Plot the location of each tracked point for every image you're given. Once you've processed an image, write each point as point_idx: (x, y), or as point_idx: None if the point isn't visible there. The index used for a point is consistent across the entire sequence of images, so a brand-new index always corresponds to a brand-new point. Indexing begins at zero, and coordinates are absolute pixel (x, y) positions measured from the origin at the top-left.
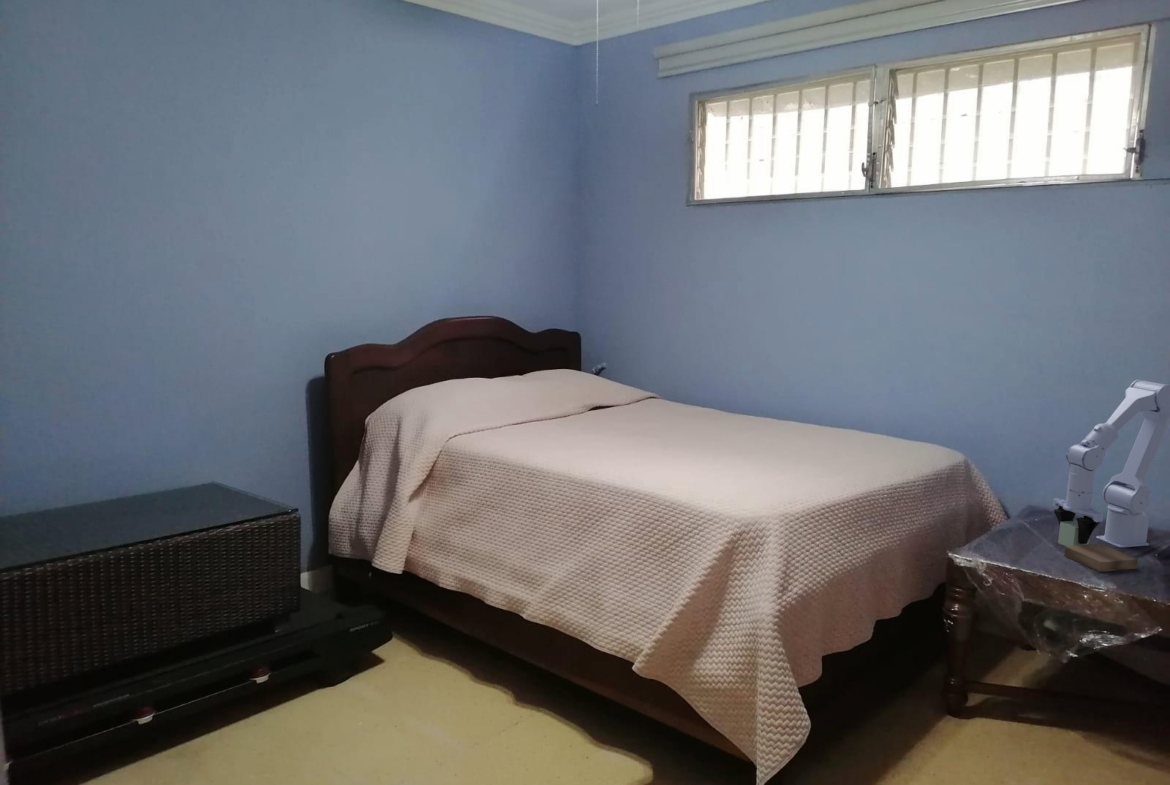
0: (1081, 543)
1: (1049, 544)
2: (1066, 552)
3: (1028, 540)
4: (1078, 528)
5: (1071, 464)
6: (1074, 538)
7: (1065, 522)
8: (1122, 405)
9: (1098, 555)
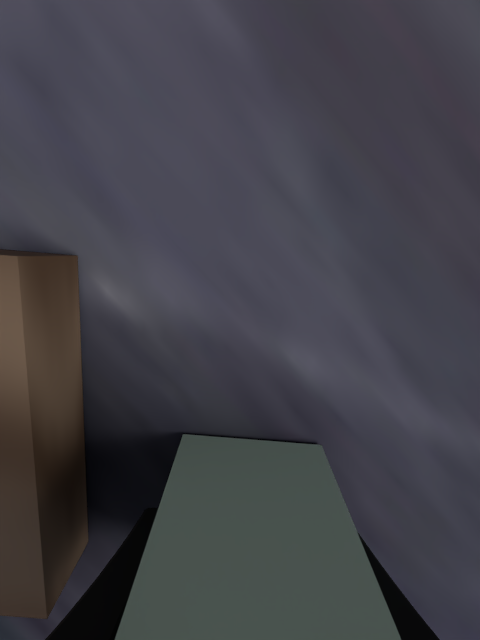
0: (143, 517)
1: (328, 371)
2: (32, 254)
3: (459, 285)
4: None
5: None
6: (159, 509)
7: None
8: None
9: None
